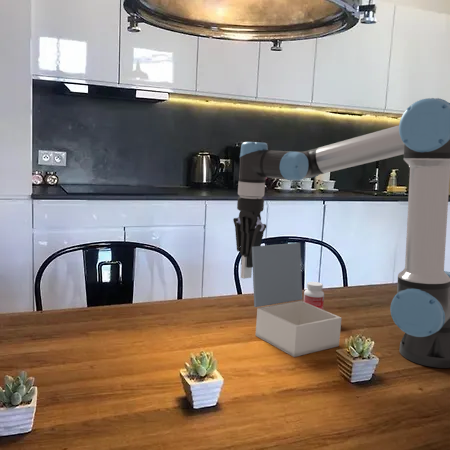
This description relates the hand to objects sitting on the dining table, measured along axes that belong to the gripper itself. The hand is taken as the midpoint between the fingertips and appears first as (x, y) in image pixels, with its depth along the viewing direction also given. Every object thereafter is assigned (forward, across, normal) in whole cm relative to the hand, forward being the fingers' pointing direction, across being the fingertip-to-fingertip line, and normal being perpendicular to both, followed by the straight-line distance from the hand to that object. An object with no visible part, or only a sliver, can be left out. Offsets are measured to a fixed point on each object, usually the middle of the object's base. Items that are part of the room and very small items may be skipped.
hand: (246, 277), depth 155 cm
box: (+14, -18, -5) cm, 23 cm away
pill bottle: (+14, -6, -22) cm, 27 cm away
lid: (-3, -9, -5) cm, 10 cm away
